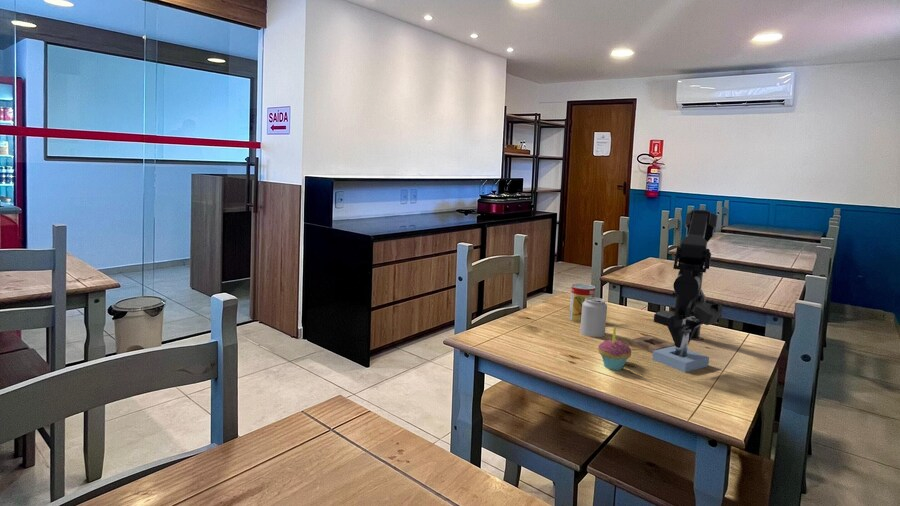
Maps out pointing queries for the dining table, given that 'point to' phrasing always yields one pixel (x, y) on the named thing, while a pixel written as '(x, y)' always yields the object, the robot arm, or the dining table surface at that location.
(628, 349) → the cupcake
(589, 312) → the can
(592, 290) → the canned food
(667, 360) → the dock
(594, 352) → the dining table surface
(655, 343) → the mount
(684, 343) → the lock pin
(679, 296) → the robot arm
